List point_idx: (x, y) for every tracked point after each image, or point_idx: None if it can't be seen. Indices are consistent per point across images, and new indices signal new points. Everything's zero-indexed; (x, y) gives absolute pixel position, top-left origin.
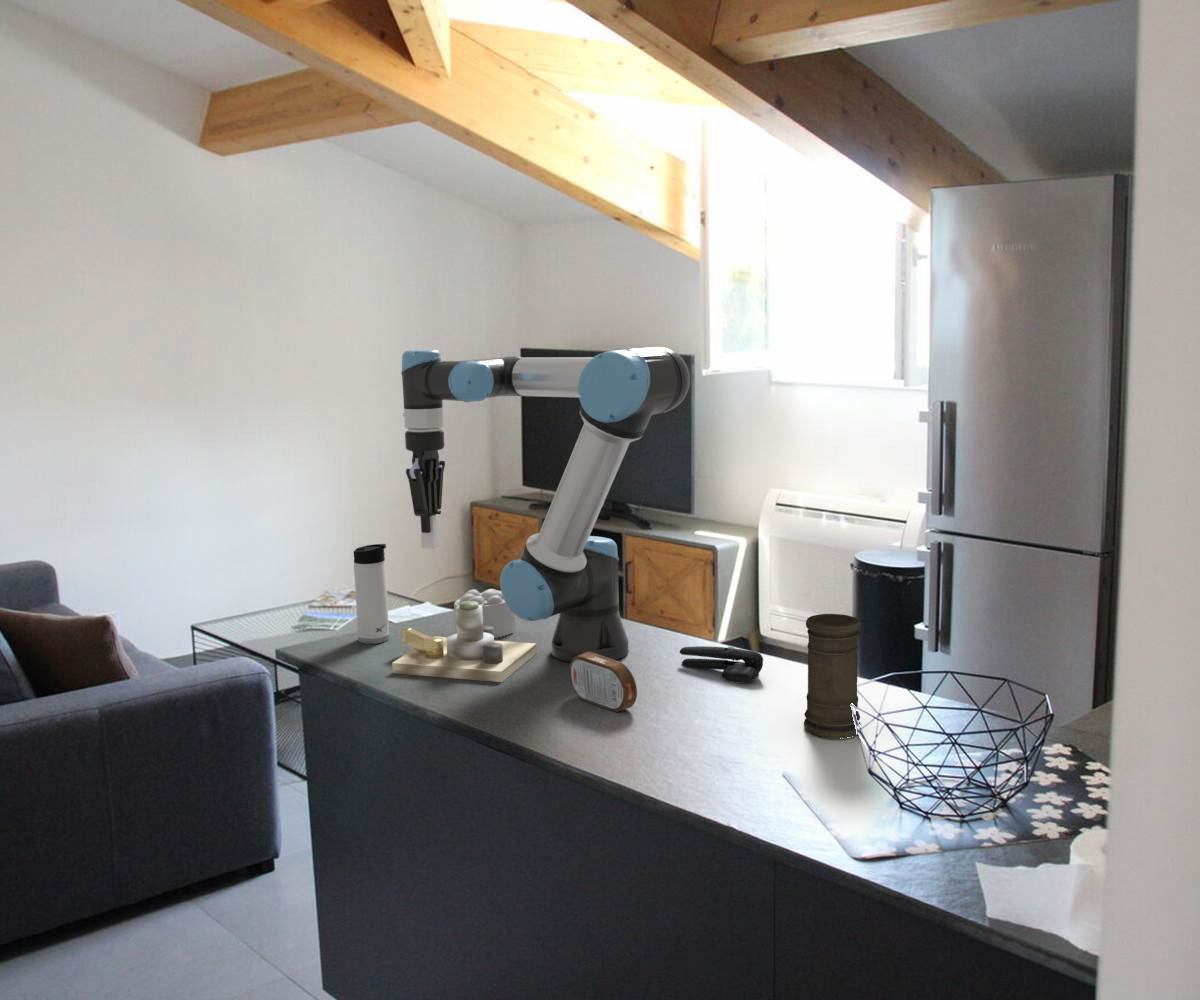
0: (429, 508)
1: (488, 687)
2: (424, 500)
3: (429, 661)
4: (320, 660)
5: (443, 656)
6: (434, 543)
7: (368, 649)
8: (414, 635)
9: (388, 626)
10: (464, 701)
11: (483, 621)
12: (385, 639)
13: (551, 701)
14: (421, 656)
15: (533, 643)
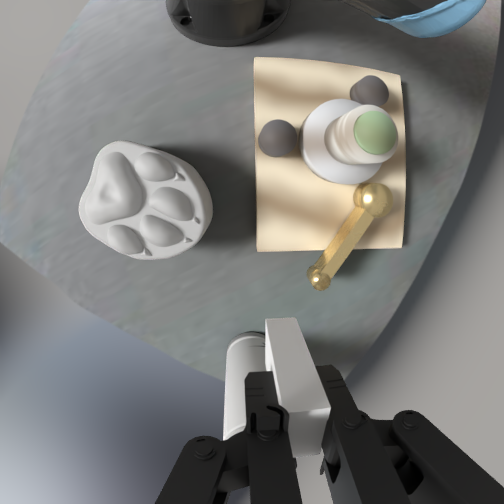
0: (378, 442)
1: (412, 92)
2: (459, 466)
3: None
4: (352, 361)
5: (363, 182)
6: (294, 327)
7: None
8: (349, 251)
9: (240, 344)
10: (454, 112)
11: (196, 177)
12: (255, 333)
13: None
14: None
15: (255, 61)
